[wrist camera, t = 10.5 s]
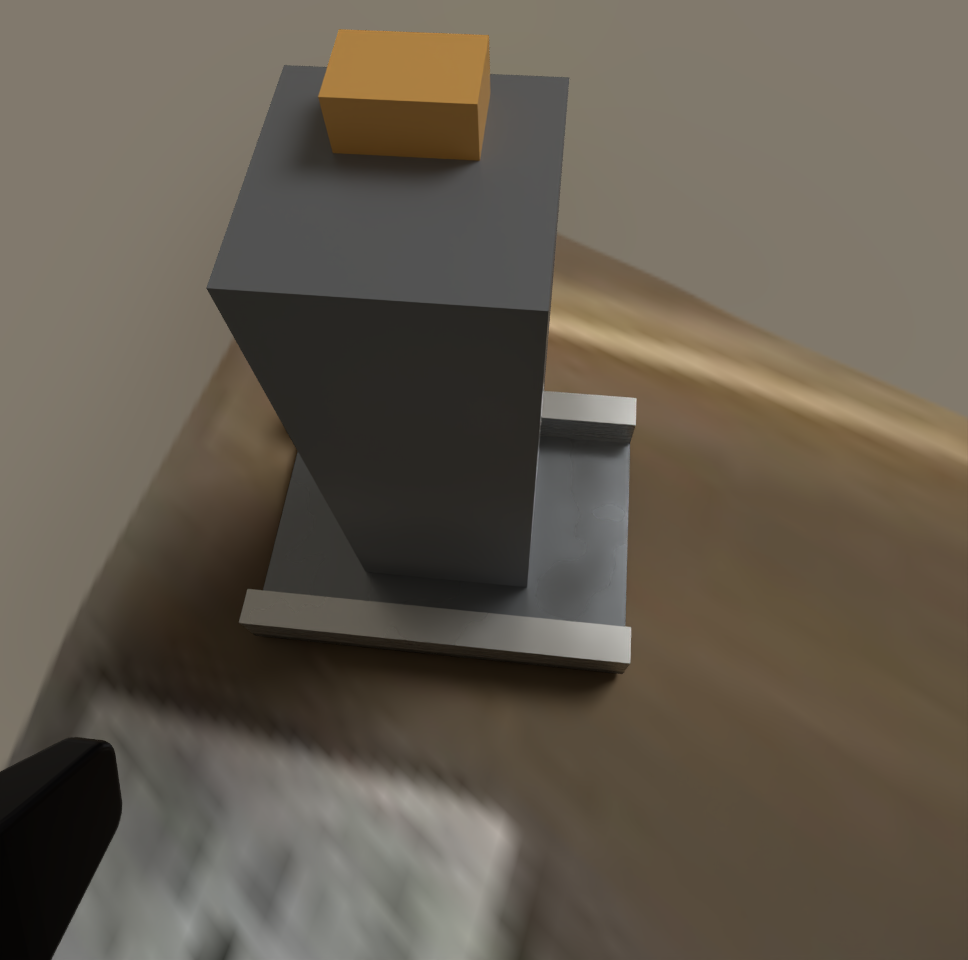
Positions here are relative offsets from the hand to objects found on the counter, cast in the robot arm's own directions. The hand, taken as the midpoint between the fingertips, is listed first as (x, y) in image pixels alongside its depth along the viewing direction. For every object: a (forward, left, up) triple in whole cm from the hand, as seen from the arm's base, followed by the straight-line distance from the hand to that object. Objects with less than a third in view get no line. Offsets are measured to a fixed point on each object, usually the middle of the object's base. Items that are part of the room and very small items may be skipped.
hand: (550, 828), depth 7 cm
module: (+9, +3, -13) cm, 16 cm away
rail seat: (+9, +3, -14) cm, 16 cm away
